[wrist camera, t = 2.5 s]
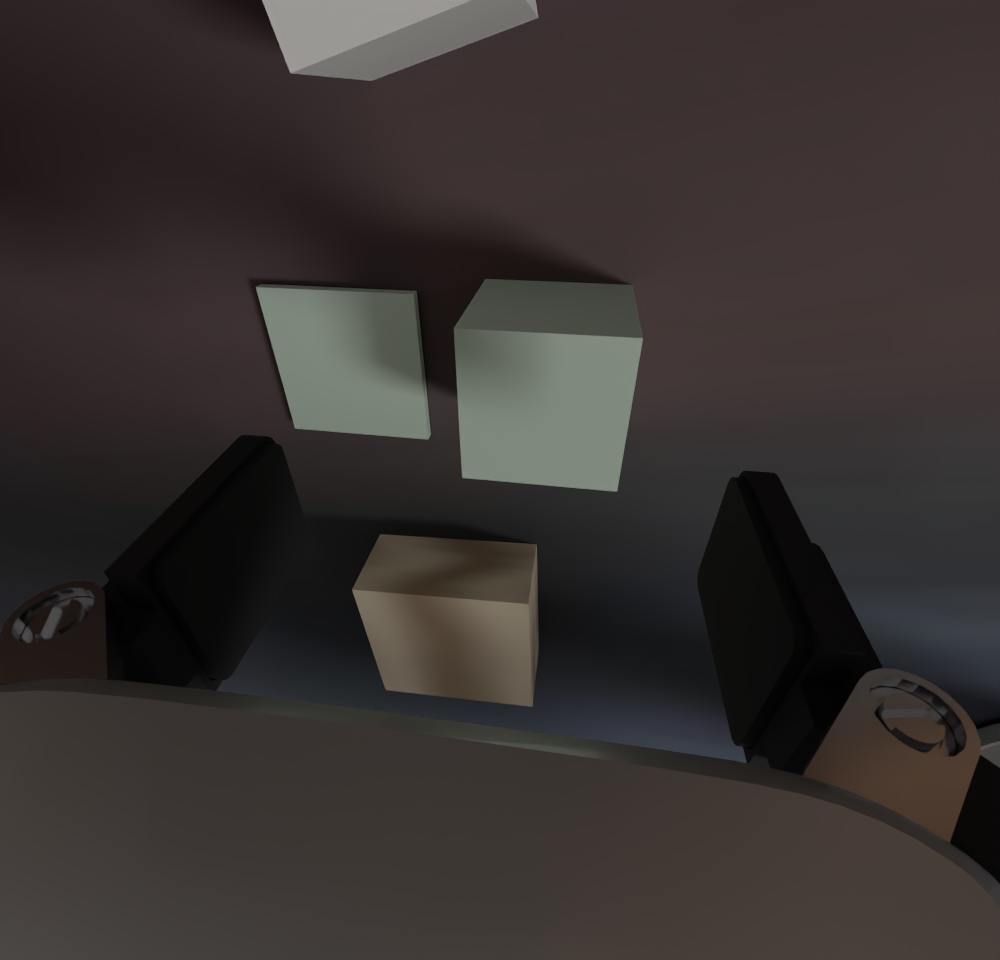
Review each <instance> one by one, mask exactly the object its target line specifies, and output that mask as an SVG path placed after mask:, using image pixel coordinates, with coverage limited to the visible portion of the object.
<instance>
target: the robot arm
mask: <svg viewBox="0 0 1000 960" xmlns="http://www.w3.org/2000/svg"><path fill="white" fill-rule="evenodd" d="M309 544H310V534H309V531H308V527H307V524H306V521H305V518H304V515H303V512H302V509H301V505H300V502H299V499H298V496H297V493H296V490H295V486H294V483H293V480H292V477H291V474H290V471H289V468H288V464H287V461H286V458H285V455H284V452H283V449H282V447H281V446H280V445H278V444H276V443H275V441H274V440H273V439H272V438H270V437H266V436H252V435H242V436H240V437H239V438H238V439H237V440H236V441H235V442H234V443H233V444H232V445H231V446H230V447H229V448H228V449H227V450H226V451H225V452H224V453H223V454H222V455H221V456H220V457H219V458H218V459H217V460H216V461H215V462H214V463H213V464H212V465H211V466H210V467H209V468H208V469H207V470H206V471H205V472H204V473H203V474H202V475H201V476H200V477H199V478H198V479H197V480H196V481H195V482H194V483H193V484H192V485H191V486H190V487H189V488H188V489H187V490H186V491H185V492H184V493H183V494H182V495H181V496H180V497H179V498H178V499H177V500H176V501H175V502H174V503H173V504H172V505H171V506H170V507H169V508H168V509H167V510H166V511H165V512H164V513H163V514H162V515H161V516H160V517H159V518H158V519H157V520H156V521H155V522H154V523H153V524H152V525H151V526H150V527H149V528H148V529H147V530H146V531H145V532H144V533H143V534H142V535H141V536H140V537H139V538H138V539H137V540H136V541H135V542H134V543H133V544H132V545H131V546H130V547H129V548H128V549H127V550H126V551H125V552H124V553H123V554H122V555H121V556H120V557H119V558H118V559H117V560H116V561H115V562H114V563H113V564H112V565H111V566H110V567H109V568H108V569H107V570H106V571H105V572H104V573H105V574H106V576H107V577H108V579H109V580H110V581H109V582H108V583H107V584H106V585H105V586H104V587H103V588H102V587H100V586H99V585H98V584H96V583H93V582H88V581H76V582H69V583H65V584H61V585H57V586H55V587H52V588H50V589H48V590H45V591H43V592H41V593H39V594H37V595H36V596H34V597H32V598H31V599H29V600H27V601H26V602H25V603H23V604H22V605H21V606H20V607H19V608H17V609H16V610H15V611H14V612H13V613H12V614H11V615H10V617H9V618H8V619H7V620H6V622H5V623H4V625H3V627H2V630H1V632H0V960H1000V723H996V724H992V725H989V726H985V727H982V728H979V729H976V727H975V725H974V723H973V722H972V720H971V719H970V717H969V716H968V715H967V713H966V712H965V710H964V709H963V708H962V707H961V706H960V705H959V704H958V703H957V702H956V701H955V700H954V699H953V698H952V697H951V696H950V695H948V694H947V693H946V692H944V691H943V690H941V689H940V688H938V687H937V686H935V685H934V684H933V683H931V682H929V681H927V680H925V679H923V678H921V677H919V676H916V675H914V674H912V673H908V672H905V671H901V670H897V669H883V667H882V665H881V663H880V661H879V659H878V658H877V656H876V654H875V652H874V650H873V648H872V646H871V644H870V642H869V640H868V638H867V636H866V634H865V632H864V630H863V628H862V626H861V624H860V622H859V620H858V619H857V617H856V615H855V613H854V611H853V609H852V607H851V605H850V603H849V601H848V599H847V597H846V595H845V593H844V591H843V589H842V587H841V585H840V583H839V582H838V580H837V578H836V576H835V574H834V572H833V570H832V568H831V566H830V564H829V562H828V560H827V558H826V556H825V554H824V552H823V551H822V550H821V548H820V547H819V546H818V545H816V544H815V543H811V541H810V539H809V537H808V535H807V533H806V531H805V529H804V527H803V525H802V523H801V521H800V519H799V517H798V515H797V513H796V511H795V509H794V507H793V505H792V503H791V501H790V499H789V497H788V495H787V493H786V491H785V489H784V487H783V485H782V483H781V481H780V479H779V477H778V476H777V474H775V473H769V472H755V471H743V472H742V473H741V474H740V476H739V478H736V477H732V478H731V479H730V480H729V482H728V485H727V488H726V491H725V494H724V497H723V500H722V503H721V506H720V509H719V512H718V515H717V518H716V521H715V524H714V526H713V529H712V532H711V535H710V538H709V541H708V544H707V547H706V550H705V553H704V556H703V559H702V562H701V565H700V568H699V572H698V590H699V595H700V599H701V603H702V608H703V612H704V617H705V621H706V626H707V630H708V635H709V639H710V643H711V648H712V652H713V657H714V661H715V666H716V670H717V675H718V679H719V684H720V688H721V692H722V697H723V701H724V706H725V710H726V715H727V719H728V724H729V728H730V733H731V736H732V740H733V742H734V744H735V745H736V746H743V749H744V753H745V757H746V761H747V763H742V762H737V761H732V760H725V759H719V758H712V757H706V756H699V755H693V754H686V753H679V752H673V751H666V750H660V749H653V748H647V747H640V746H633V745H626V744H619V743H611V742H604V741H597V740H589V739H582V738H574V737H567V736H560V735H552V734H545V733H538V732H530V731H523V730H515V729H508V728H501V727H493V726H486V725H478V724H471V723H463V722H455V721H448V720H440V719H433V718H425V717H417V716H410V715H402V714H394V713H387V712H379V711H371V710H363V709H356V708H348V707H340V706H333V705H325V704H317V703H309V702H301V701H293V700H285V699H277V698H269V697H261V696H253V695H245V694H237V693H229V692H221V691H216V690H217V688H218V687H219V685H220V683H221V682H222V680H226V679H228V678H229V677H230V676H231V675H232V674H233V672H234V671H235V669H236V668H237V666H238V664H239V663H240V661H241V659H242V658H243V656H244V654H245V653H246V651H247V649H248V648H249V646H250V644H251V643H252V641H253V639H254V638H255V636H256V634H257V633H258V631H259V630H260V628H261V626H262V625H263V623H264V621H265V620H266V618H267V616H268V615H269V613H270V611H271V610H272V608H273V606H274V605H275V603H276V601H277V600H278V598H279V596H280V595H281V593H282V591H283V590H284V588H285V587H286V585H287V583H288V582H289V580H290V578H291V577H292V575H293V573H294V572H295V570H296V568H297V567H298V565H299V563H300V562H301V560H302V558H303V557H304V555H305V553H306V552H307V550H308V548H309Z"/></svg>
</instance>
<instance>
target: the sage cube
mask: <svg viewBox="0 0 1000 960" xmlns="http://www.w3.org/2000/svg"><path fill="white" fill-rule="evenodd" d="M454 341H455V359H456V376H457V394H458V412H459V429H460V447H461V464H462V478H470V479H482V480H493V481H504V482H515V483H526V484H537V485H549V486H560V487H571V488H582V489H593V490H604V491H616V492H617V489H618V483H619V477H620V471H621V465H622V459H623V453H624V447H625V441H626V435H627V430H628V424H629V418H630V412H631V406H632V400H633V394H634V388H635V382H636V376H637V370H638V364H639V359H640V353H641V347H642V341H643V336H642V331H641V326H640V321H639V316H638V311H637V306H636V300H635V295H634V290H633V285H622V284H598V283H573V282H549V281H524V280H500V279H485V280H484V282H483V284H482V285H481V287H480V288H479V290H478V291H477V293H476V294H475V296H474V298H473V299H472V301H471V302H470V304H469V305H468V307H467V308H466V310H465V312H464V313H463V315H462V316H461V318H460V319H459V321H458V322H457V324H456V326H455V327H454Z"/></svg>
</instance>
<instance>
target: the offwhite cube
mask: <svg viewBox="0 0 1000 960" xmlns="http://www.w3.org/2000/svg"><path fill="white" fill-rule="evenodd" d="M262 1H263V4H264V7H265V9H266V12H267V14H268V17H269V19H270V22H271V25H272V27H273V30H274V32H275V35H276V37H277V40H278V43H279V45H280V48H281V50H282V53H283V55H284V58H285V61H286V63H287V66H288V68H289V71H290V73H293V74H304V75H315V76H325V77H336V78H347V79H357V80H368V81H372V80H375V79H378V78H380V77H383V76H386V75H388V74H391V73H394V72H396V71H399V70H401V69H404V68H407V67H409V66H412V65H415V64H417V63H420V62H423V61H425V60H428V59H431V58H433V57H436V56H439V55H441V54H444V53H446V52H449V51H452V50H454V49H457V48H460V47H462V46H465V45H468V44H470V43H473V42H476V41H478V40H481V39H483V38H486V37H489V36H491V35H494V34H497V33H499V32H502V31H505V30H507V29H510V28H513V27H515V26H518V25H521V24H523V23H526V22H528V21H531V20H534V19H536V18H538V12H537V6H536V0H262Z"/></svg>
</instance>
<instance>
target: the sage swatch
mask: <svg viewBox="0 0 1000 960" xmlns="http://www.w3.org/2000/svg"><path fill="white" fill-rule="evenodd" d="M256 290H257V294H258V297H259V301H260V304H261V308H262V312H263V315H264V319H265V322H266V326H267V330H268V333H269V337H270V340H271V344H272V347H273V351H274V355H275V358H276V362H277V365H278V369H279V373H280V376H281V380H282V383H283V387H284V391H285V394H286V398H287V401H288V405H289V408H290V412H291V416H292V419H293V423H294V426H295V429H307V430H320V431H332V432H344V433H356V434H368V435H380V436H392V437H405V438H417V439H429V437H430V435H431V432H430V421H429V411H428V401H427V390H426V380H425V370H424V359H423V349H422V339H421V328H420V318H419V308H418V298H417V291H406V290H383V289H361V288H339V287H316V286H294V285H271V284H261V285H259V286H257V287H256Z"/></svg>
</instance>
